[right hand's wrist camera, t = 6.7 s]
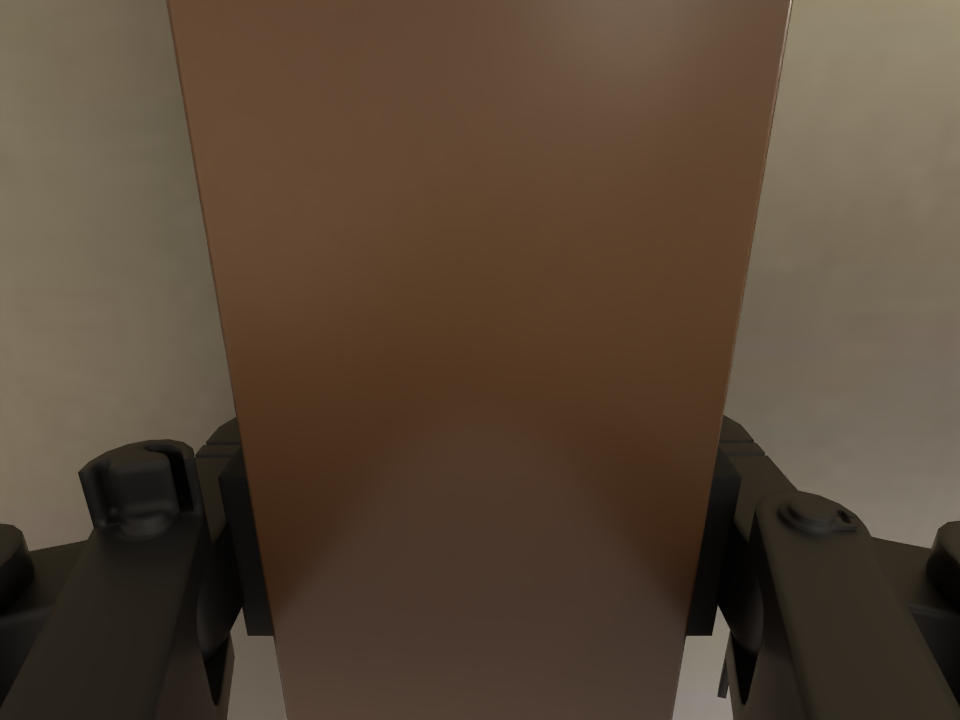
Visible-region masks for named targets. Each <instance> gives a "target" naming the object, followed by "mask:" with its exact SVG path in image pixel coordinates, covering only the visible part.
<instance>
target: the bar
mask: <svg viewBox="0 0 960 720" xmlns="http://www.w3.org/2000/svg"><path fill="white" fill-rule="evenodd" d="M166 1H167V7H168V13H169V19H170V25H171V31H172V37H173V43H174V49H175V55H176V60H177V66H178V72H179V78H180V84H181V90H182V96H183V102H184V108H185V114H186V120H187V126H188V132H189V138H190V143H191V149H192V155H193V161H194V167H195V173H196V179H197V185H198V191H199V197H200V203H201V209H202V215H203V220H204V226H205V232H206V238H207V244H208V250H209V256H210V262H211V268H212V274H213V280H214V286H215V292H216V298H217V303H218V309H219V315H220V321H221V327H222V333H223V339H224V345H225V351H226V357H227V363H228V369H229V375H230V381H231V386H232V392H233V398H234V404H235V410H236V416H237V422H238V428H239V434H240V440H241V446H242V452H243V458H244V463H245V469H246V475H247V481H248V487H249V493H250V499H251V505H252V511H253V517H254V523H255V529H256V535H257V541H258V546H259V552H260V558H261V564H262V570H263V576H264V582H265V588H266V594H267V600H268V606H269V612H270V618H271V624H272V629H273V635H274V641H275V647H276V653H277V659H278V665H279V671H280V677H281V683H282V689H283V695H284V701H285V706H286V712H287V718H288V720H672V716H673V710H674V704H675V698H676V692H677V686H678V680H679V674H680V669H681V663H682V657H683V651H684V645H685V639H686V633H687V627H688V621H689V615H690V609H691V603H692V597H693V591H694V585H695V579H696V574H697V568H698V562H699V556H700V550H701V544H702V538H703V532H704V526H705V520H706V514H707V508H708V502H709V496H710V490H711V484H712V479H713V473H714V467H715V461H716V455H717V449H718V443H719V437H720V431H721V425H722V419H723V413H724V407H725V401H726V395H727V389H728V384H729V378H730V372H731V366H732V360H733V354H734V348H735V342H736V336H737V330H738V324H739V318H740V312H741V306H742V300H743V294H744V289H745V283H746V277H747V271H748V265H749V259H750V253H751V247H752V241H753V235H754V229H755V223H756V217H757V211H758V205H759V199H760V194H761V188H762V182H763V176H764V170H765V164H766V158H767V152H768V146H769V140H770V134H771V128H772V122H773V116H774V110H775V104H776V99H777V93H778V87H779V81H780V75H781V69H782V63H783V57H784V51H785V45H786V39H787V33H788V27H789V21H790V15H791V9H792V4H793V0H166Z"/></svg>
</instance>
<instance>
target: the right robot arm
mask: <svg viewBox="0 0 960 720" xmlns="http://www.w3.org/2000/svg"><path fill="white" fill-rule="evenodd" d="M78 474H79V478H80V481H81V485H82V488H83V491H84V495H85V498H86V502H87V505H88V509H89V512H90V516H91V519H92V523H93V526H94V529H93V531H92V533H91V534H90V536H89V538H88V540H84V541H80V542H76V543H71V544H66V545H60V546H55V547H50V548H45V549H40V550H35V551H29V550H28V547H27V545H26V542H25V539H24V536H23V533H22V531H20V530H19V529H18V528H16V527H15V526H13V525H8V524H0V720H227V713H228V705H229V697H230V689H231V682H232V674H233V666H234V658H235V657H234V650H233V644H232V639H231V634H230V630H231V628H232V626H233V624H234V622H235V620H236V618H237V616H238V614H239V612H240V610H241V608H243V613H244V618H245V624H246V629H247V634H248V636H274V635H273V629H272V624H271V618H270V612H269V606H268V600H267V594H266V588H265V582H264V576H263V570H262V564H261V558H260V552H259V546H258V541H257V535H256V529H255V523H254V517H253V511H252V505H251V499H250V493H249V487H248V481H247V475H246V469H245V463H244V458H243V452H242V446H241V440H240V434H239V428H238V422H237V417H235V418H234V419H232V420H230V421H228V422H227V423H225V424H223V425H222V426H220V427H219V428H218V429H217V430H216V431H215V432H214V434H213V435H212V436H211V437H210V438H209V439H208V441H207V442H206V445H203V446H202V448H201V449H200V450H199V451H198V452H197V453H196V454H195V457H194V452H193V448H191V447H190V446H188V445H187V444H186V443H184V442H179V441H174V440H169V439H167V440H147V441H142V442H137V443H132V444H127V445H125V446H122V447H119V448H116V449H113V450H110V451H108V452H105V453H104V454H102V455H100V456H98V457H97V458H95V459H93V460H91V461H89V462H88V463H87V464H86V465H85V466H84V467H83V468H82V469H81V470H80V471H79V472H78ZM717 606H719V608H720V610H721V612H722V614H723V616H724V618H725V620H726V622H727V624H728V626H729V628H730V634H729V639H728V644H727V649H726V654H725V659H724V663H723V668H722V673H721V678H720V683H719V690H718V696H717V697H721V698H726V695H727V690H728V686H729V688H730V696H731V703H732V711H733V719H734V720H960V521H954V522H947V523H946V524H944V525H943V526H942V527H940V528H939V529H938V531H937V534H936V537H935V540H934V543H933V546H932V549H929V548H924V547H919V546H914V545H909V544H903V543H898V542H893V541H888V540H883V539H878V538H874V537H871V535H870V533H869V531H868V529H867V528H866V526H865V525H864V524H863V523H862V521H861V520H860V519H859V518H858V517H857V515H855V514H854V513H852V512H851V511H849V510H848V509H846V508H845V507H843V506H842V505H840V504H839V503H836V502H834V501H831V500H829V499H827V498H824V497H822V496H819V495H815V494H811V493H806V492H802V491H798V490H797V489H796V488H795V487H794V486H793V485H792V483H791V482H790V481H789V480H788V479H787V478H786V476H785V475H784V474H783V473H782V472H781V471H780V470H779V468H778V467H777V466H776V465H775V464H774V463H773V461H772V460H771V459H770V458H769V457H768V456H765V452H764V451H763V450H762V449H761V448H760V446H759V445H758V444H757V443H754V440H753V438H752V437H751V436H750V435H749V434H748V433H747V432H746V430H745V429H744V428H743V427H742V426H741V425H740V424H738V423H737V422H735V421H733V420H732V419H730V418H728V417H726V416H725V415H723V419H722V425H721V431H720V437H719V443H718V449H717V455H716V461H715V467H714V473H713V479H712V484H711V490H710V496H709V502H708V508H707V514H706V520H705V526H704V532H703V538H702V544H701V550H700V556H699V562H698V568H697V574H696V579H695V585H694V591H693V597H692V603H691V609H690V615H689V621H688V627H687V633H686V636H712V632H713V627H714V622H715V616H716V611H717Z"/></svg>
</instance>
